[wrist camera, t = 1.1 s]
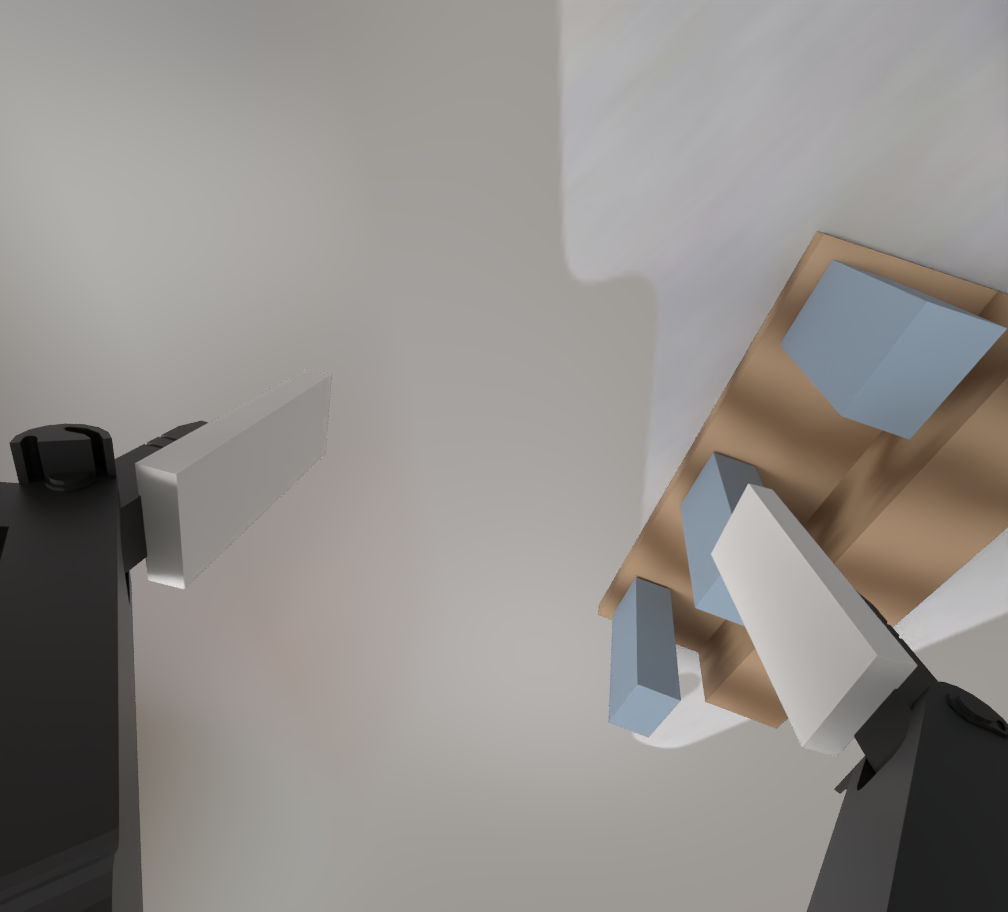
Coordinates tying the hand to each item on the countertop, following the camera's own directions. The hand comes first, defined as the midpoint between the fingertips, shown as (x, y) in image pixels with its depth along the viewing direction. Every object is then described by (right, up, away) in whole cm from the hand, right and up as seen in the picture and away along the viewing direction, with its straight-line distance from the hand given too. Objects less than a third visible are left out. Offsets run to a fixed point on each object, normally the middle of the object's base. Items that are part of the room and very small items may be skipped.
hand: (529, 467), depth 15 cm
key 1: (+11, -12, +27) cm, 31 cm away
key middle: (+14, -2, +19) cm, 24 cm away
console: (+20, -3, +20) cm, 29 cm away
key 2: (+18, +9, +12) cm, 23 cm away
